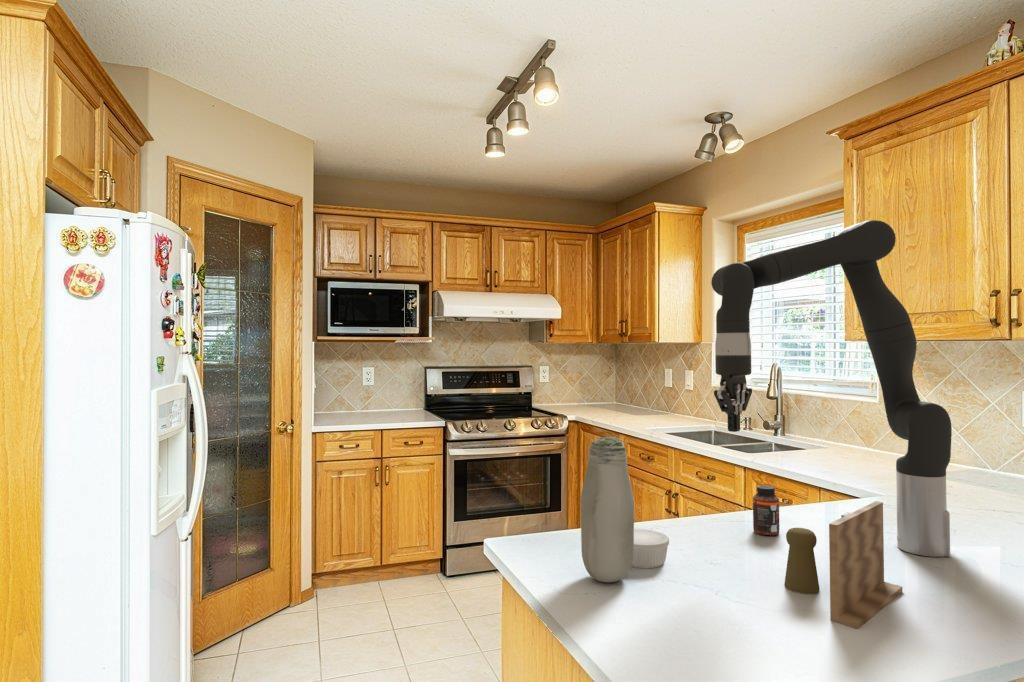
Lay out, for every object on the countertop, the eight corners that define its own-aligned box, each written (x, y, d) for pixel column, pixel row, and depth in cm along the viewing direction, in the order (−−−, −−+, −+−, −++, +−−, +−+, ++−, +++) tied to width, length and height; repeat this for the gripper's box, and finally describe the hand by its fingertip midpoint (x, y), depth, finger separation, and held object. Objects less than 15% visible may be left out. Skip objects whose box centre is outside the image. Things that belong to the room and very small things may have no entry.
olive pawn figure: (777, 582, 115) (776, 525, 115) (805, 580, 116) (805, 523, 116) (797, 595, 109) (796, 535, 109) (827, 592, 110) (826, 533, 110)
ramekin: (605, 556, 130) (605, 532, 130) (647, 549, 134) (647, 526, 134) (635, 574, 120) (635, 548, 120) (680, 566, 124) (679, 540, 124)
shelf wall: (877, 585, 113) (875, 501, 113) (902, 591, 110) (901, 505, 110) (830, 619, 99) (829, 523, 99) (858, 628, 96) (856, 529, 96)
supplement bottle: (782, 537, 142) (781, 490, 142) (755, 536, 143) (755, 489, 143) (776, 530, 148) (775, 484, 148) (751, 528, 149) (750, 483, 149)
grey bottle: (623, 593, 110) (621, 442, 110) (573, 582, 115) (572, 438, 116) (641, 576, 118) (640, 435, 119) (594, 566, 124) (593, 432, 124)
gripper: (733, 353, 125) (734, 436, 125) (763, 353, 134) (764, 430, 133) (701, 353, 131) (702, 432, 130) (732, 353, 139) (733, 427, 139)
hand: (734, 431), depth 132 cm, fingers closed
